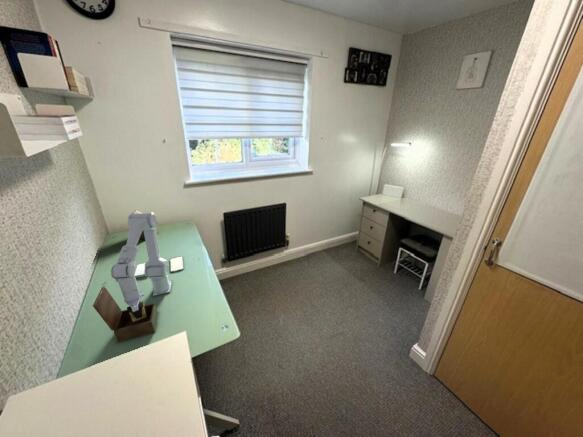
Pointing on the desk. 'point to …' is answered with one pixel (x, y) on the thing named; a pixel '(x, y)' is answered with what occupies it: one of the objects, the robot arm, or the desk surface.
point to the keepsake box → (136, 324)
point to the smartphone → (176, 264)
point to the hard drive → (140, 270)
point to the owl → (142, 231)
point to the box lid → (107, 308)
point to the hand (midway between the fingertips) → (138, 313)
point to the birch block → (142, 314)
